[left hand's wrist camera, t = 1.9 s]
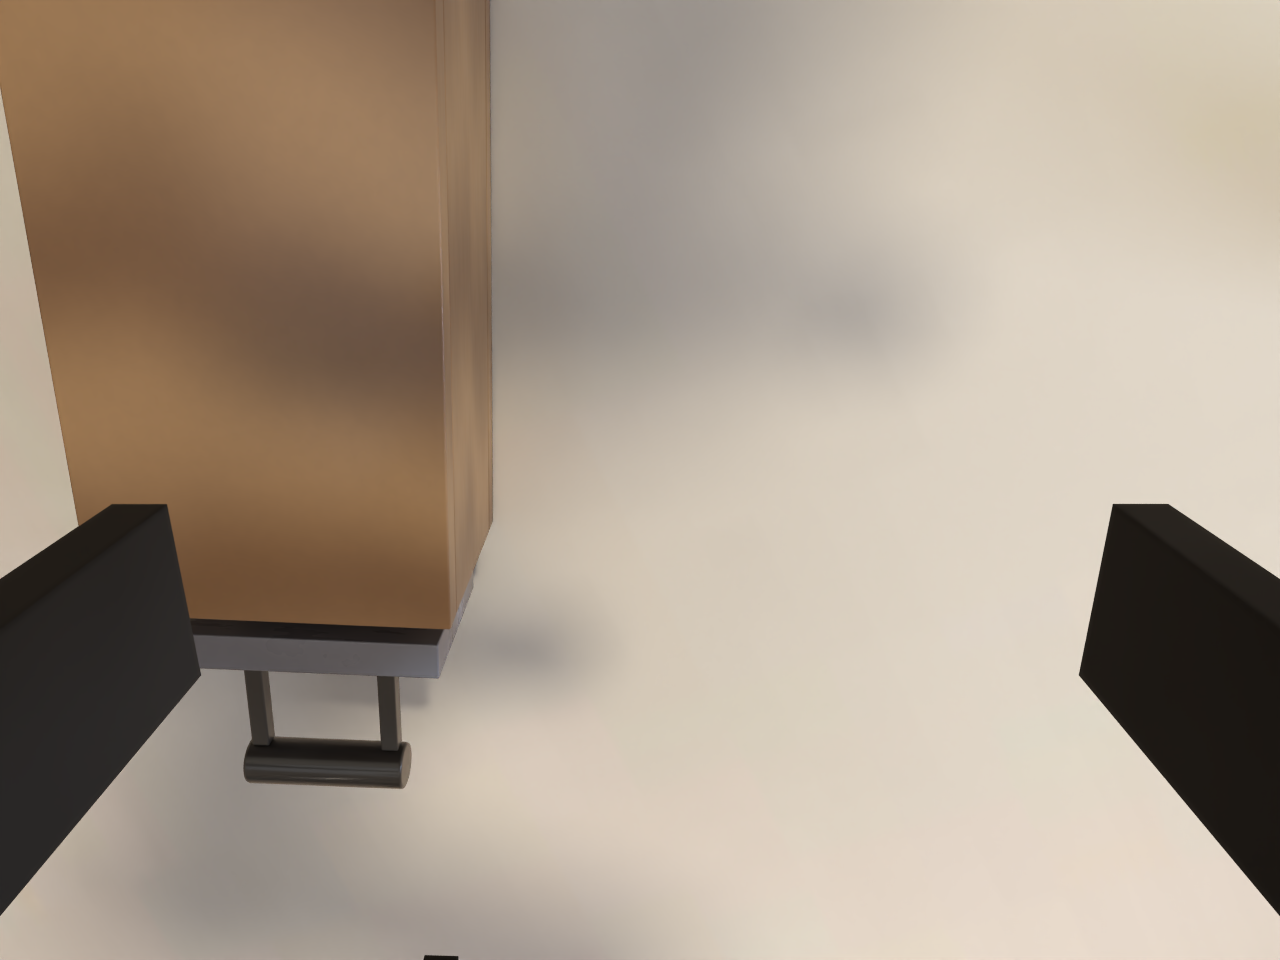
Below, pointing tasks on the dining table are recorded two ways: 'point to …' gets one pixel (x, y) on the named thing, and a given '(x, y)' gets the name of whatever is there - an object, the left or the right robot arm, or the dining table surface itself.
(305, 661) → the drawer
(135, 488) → the brown wooden box
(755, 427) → the dining table surface
